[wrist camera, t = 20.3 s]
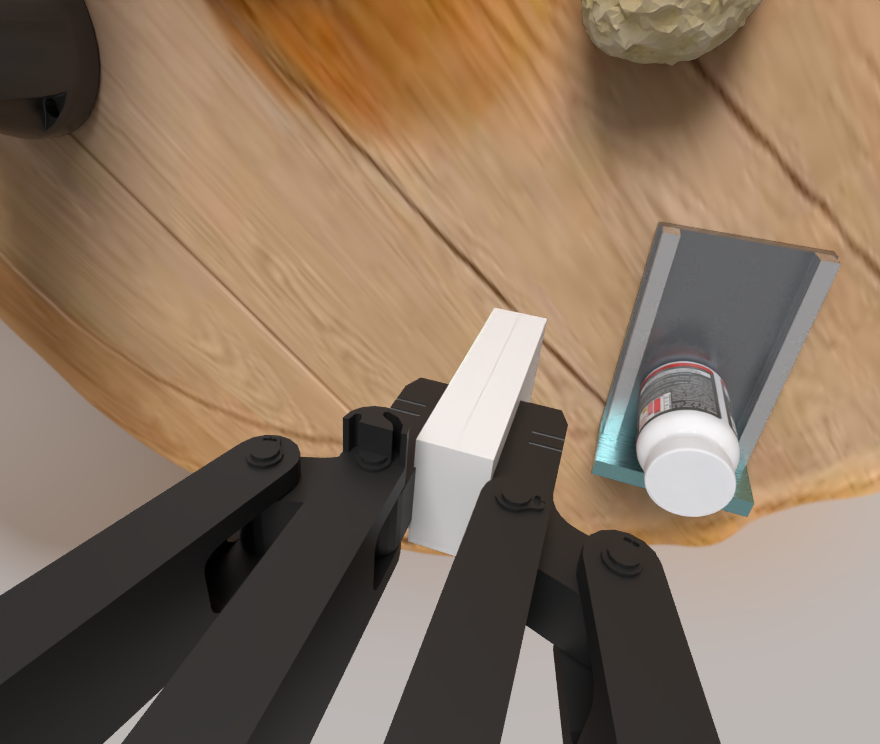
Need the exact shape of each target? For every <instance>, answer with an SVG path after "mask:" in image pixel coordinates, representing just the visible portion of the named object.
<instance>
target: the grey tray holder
mask: <svg viewBox="0 0 880 744" xmlns="http://www.w3.org/2000/svg"><path fill="white" fill-rule="evenodd" d="M837 259H838V255H837V254H836V253H835V252H833V251H827V250H822V249H816V248H810V247H804V246H798V245H792V244H787V243H781V242H775V241H769V240H763V239H757V238H752V237H746V236H740V235H734V234H728V233H722V232H717V231H711V230H705V229H699V228H693V227H688V226H682V225H676V224H670V223H664V222H658V226H657V229H656V233H655V236H654V239H653V243H652V246H651V250H650V253H649V257H648V260H647V264H646V267H645V270H644V274H643V277H642V281H641V284H640V288H639V291H638V295H637V298H636V301H635V305H634V308H633V312H632V315H631V319H630V322H629V326H628V329H627V332H626V336H625V339H624V343H623V346H622V350H621V353H620V356H619V360H618V363H617V367H616V370H615V374H614V377H613V381H612V384H611V387H610V391H609V394H608V398H607V401H606V405H605V408H604V412H603V415H602V418H601V422H600V425H599V431H598V437H597V443H596V449H595V455H594V461H593V467H592V473H591V474H595V475H599V476H602V477H606V478H609V479H613V480H616V481H620V482H624V483H627V484H631V485H634V486H638V487H641V488H645V489H646V487H645V482H644V471H643V469H642V468H641V466H640V463H639V461H638V458H637V451H636V440H637V439H636V438H637V421H638V398H639V391H640V388H641V385H642V383H643V381H644V380H645V378H646V377H647V376H648V375H649V374H650V373H651V372H652V371H654V370H655V369H657V368H658V367H660V366H662V365H665V364H668V363H672V362H677V361H689V362H695V363H699V364H702V365H704V366H706V367H708V368H710V369H712V370H713V371H714V372H716V373H717V374H718V375H719V376H720V378H721V379H722V380H723V382H724V383H725V385H726V388H727V390H728V394H729V399H730V404H731V408H732V413H733V418H734V422H735V427H736V432H737V436H738V441H739V448H740V458H739V463H738V466H737V468H736V470H735V477H736V490H735V493H734V496H733V498H732V499H731V501H730V502H729V503H728V504H727V505H726V506H725V507H724V508H722V509H721V510H724V511H727V512H731V513H734V514H738V515H742V516H745V517H748V515H749V513H750V511H751V509H752V507H753V505H754V500H753V495H752V490H751V486H750V481H749V476H748V472H747V467H746V464H747V461H748V459H749V457H750V455H751V453H752V451H753V449H754V447H755V445H756V442H757V440H758V438H759V436H760V434H761V432H762V430H763V428H764V426H765V423H766V421H767V419H768V417H769V415H770V413H771V411H772V409H773V407H774V404H775V402H776V400H777V398H778V396H779V394H780V392H781V390H782V388H783V385H784V383H785V381H786V379H787V377H788V375H789V373H790V371H791V369H792V367H793V364H794V362H795V360H796V358H797V356H798V354H799V352H800V350H801V348H802V345H803V343H804V341H805V339H806V337H807V335H808V333H809V331H810V329H811V326H812V324H813V322H814V320H815V318H816V316H817V314H818V312H819V310H820V307H821V305H822V303H823V301H824V299H825V297H826V295H827V293H828V291H829V288H830V286H831V284H832V282H833V280H834V278H835V276H836V274H837V272H838V269H839V267H840V265H841V263H840V262H839V261H838V260H837Z"/></svg>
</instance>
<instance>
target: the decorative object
mask: <svg viewBox="0 0 880 744" xmlns="http://www.w3.org/2000/svg"><path fill="white" fill-rule="evenodd" d="M581 1H582V4H583V10H582V17H583V25H584V26H585V27H586V28H587V32H586V33H587V34H588V35H589V36H590V39H591V41H592V42H593V43H594V44H595V45H596V46H597V47H598V48H599V49H600V50H602V51H603V52H604V53H606V55H610V56H613V57H618V58H621V59H627V60H629V61H631V62H635V63H640V64H649V63H660V64H663V63H666V64H668V65H671V66H672V65H674V64H676V63H677V62H678V61H690V60H694V59H697V58H698V57H700V56H702V55H703V54H704V53H708V52H710V51H711V50H712V49H714V48H716V47H717V46H719V45H720V44H722V43H723V42H724V41H726V40H727V39H728V38H730V37H731V36H732V35H733V34H734V33H735V32H736V31H737V30H738V28H740V27H742V26H744V25H745V21H746V18H747V17H748V16H749V15H750V14H751V13H752V12H753V11H754V10H755V9H756V8H757V7H758V5H759V4H760V2H761V0H581Z"/></svg>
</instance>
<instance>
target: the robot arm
mask: <svg viewBox="0 0 880 744" xmlns="http://www.w3.org/2000/svg"><path fill="white" fill-rule="evenodd" d="M98 82H99V60H98V51H97V45H96V39H95V35H94V31H93V27H92V23H91V20H90V17H89V14H88V11H87V9H86V6H85V4H84V1H83V0H0V134H4V135H9V136H13V137H18V138H24V139H41V138H49V137H57V136H63V135H66V134H69V133H71V132H73V131H75V130H76V129H77V128H79V127H80V126H81V125H82V124H83V123H84V122H85V120H86V119H87V117H88V116H89V114H90V112H91V110H92V108H93V105H94V103H95V99H96V95H97V90H98ZM546 321H547V319H546V318H541V317H536V316H531V315H526V314H522V313H517V312H512V311H507V310H503V309H498V308H494V310H493V311H492V313H491V315H490V316H489V318H488V320H487V321H486V323H485V325H484V326H483V328H482V330H481V332H480V333H479V335H478V337H477V338H476V340H475V342H474V343H473V345H472V347H471V348H470V350H469V352H468V353H467V355H466V357H465V358H464V360H463V362H462V363H461V365H460V367H459V368H458V370H457V372H456V373H455V375H454V377H453V378H452V380H451V382H450V383H449V384H445V383H441V382H437V381H433V380H429V379H425V378H419V379H418V380H416V381H414V382H412V383H410V384H408V385H407V386H405V388H404V389H403V391H402V392H401V393H400V395H399V396H398V398H397V400H395V402H394V403H393V404H392V406H391V408H386V407H378V406H370V407H362V408H359V409H356V410H353V411H351V412H349V413H348V414H347V415H346V416H344V417H343V452H342V453H341V454H340V456H339V457H334V458H314V457H300V451H299V448H298V446H297V445H296V444H295V443H294V442H293V441H291V440H290V439H288V438H285V437H282V436H276V435H263V436H258V437H253V438H251V439H248V440H246V441H244V442H242V443H240V444H239V445H237V446H235V447H234V448H232V449H231V450H229V451H227V452H226V453H224V454H223V455H221V456H220V457H218V458H216V459H215V460H213V461H212V462H210V463H209V464H207V465H205V466H204V467H202V468H201V469H199V470H198V471H196V472H194V473H193V474H191V475H190V476H188V477H186V478H185V479H183V480H182V481H180V482H179V483H177V484H175V485H174V486H172V487H171V488H169V489H168V490H166V491H165V492H163V493H161V494H160V495H158V496H157V497H155V498H153V499H152V500H150V501H149V502H147V503H145V504H144V505H142V506H141V507H139V508H138V509H136V510H134V511H133V512H131V513H130V514H128V515H127V516H125V517H124V518H122V519H120V520H119V521H117V522H116V523H114V524H112V525H111V526H109V527H108V528H106V529H104V530H103V531H101V532H100V533H98V534H97V535H95V536H93V537H92V538H90V539H89V540H87V541H86V542H84V543H82V544H81V545H79V546H78V547H76V548H75V549H73V550H72V551H70V552H68V553H67V554H65V555H64V556H62V557H60V558H59V559H57V560H56V561H54V562H52V563H51V564H49V565H48V566H46V567H45V568H43V569H42V570H40V571H38V572H37V573H35V574H34V575H32V576H30V577H29V578H27V579H26V580H24V581H22V582H21V583H19V584H18V585H16V586H15V587H13V588H12V589H10V590H8V591H7V592H5V593H4V594H2V595H0V744H103V743H104V742H105V741H106V740H107V739H108V738H109V737H111V736H112V735H113V734H114V733H115V732H116V731H117V730H118V729H119V728H120V727H121V726H122V725H124V724H125V723H126V722H127V721H128V720H129V719H130V718H131V717H132V716H133V715H134V714H135V713H137V712H138V711H139V710H140V709H141V708H142V707H143V706H144V705H145V704H146V703H147V702H148V701H149V700H151V699H152V698H153V697H154V696H155V695H156V694H157V693H158V692H159V691H160V690H161V689H162V688H163V687H164V688H163V690H162V691H161V692H160V693H159V695H158V696H157V698H156V699H155V700H154V701H153V703H152V704H151V705H150V707H149V708H148V709H147V711H146V712H145V713H144V715H143V716H142V717H141V718H140V720H139V721H138V722H137V724H136V725H135V726H134V728H133V729H132V730H131V732H130V733H129V734H128V736H127V737H126V738H125V740H124V741H123V742H122V744H310V742H311V740H312V738H313V736H314V734H315V732H316V730H317V728H318V725H319V723H320V721H321V719H322V717H323V715H324V713H325V711H326V709H327V707H328V705H329V703H330V701H331V699H332V696H333V695H334V693H335V690H336V688H337V686H338V684H339V682H340V680H341V678H342V676H343V674H344V672H345V670H346V667H347V666H348V663H349V662H350V660H351V657H352V655H353V653H354V651H355V649H356V647H357V645H358V643H359V641H360V639H361V637H362V635H363V632H364V631H365V629H366V626H367V625H368V623H369V620H370V618H371V616H372V614H373V612H374V610H375V608H376V606H377V604H378V602H379V600H380V598H381V596H382V593H383V592H384V590H385V587H386V585H387V583H388V581H389V579H390V577H391V575H392V573H393V571H394V569H395V567H396V565H397V562H398V560H399V556H400V550H401V540H402V538H403V536H404V534H405V532H406V530H407V528H408V526H409V533H408V541H409V542H412V543H415V544H419V545H422V546H425V547H428V548H431V549H434V550H438V551H441V552H444V553H447V554H450V555H454V556H456V557H455V559H454V562H453V564H452V567H451V570H450V572H449V575H448V578H447V580H446V583H445V585H444V588H443V590H442V593H441V596H440V598H439V601H438V603H437V606H436V609H435V611H434V614H433V616H432V619H431V622H430V624H429V627H428V629H427V632H426V635H425V637H424V640H423V642H422V645H421V648H420V650H419V653H418V656H417V658H416V661H415V663H414V666H413V668H412V671H411V674H410V676H409V679H408V681H407V684H406V687H405V689H404V692H403V694H402V697H401V700H400V702H399V705H398V708H397V710H396V713H395V715H394V718H393V720H392V723H391V726H390V728H389V731H388V733H387V736H386V739H385V741H384V744H500V741H501V736H502V732H503V728H504V723H505V718H506V714H507V709H508V705H509V700H510V695H511V691H512V686H513V681H514V677H515V672H516V667H517V663H518V658H519V654H520V649H521V644H522V640H523V635H524V630H525V626H528V627H529V628H531V629H532V630H534V631H535V632H537V633H538V634H540V635H541V636H542V637H544V638H545V639H547V640H548V641H550V642H551V643H553V644H554V646H553V652H554V662H555V671H556V681H557V690H558V700H559V709H560V719H561V728H562V738H563V744H721V743H720V740H719V737H718V734H717V731H716V728H715V725H714V722H713V719H712V716H711V713H710V710H709V707H708V704H707V701H706V698H705V694H704V692H703V688H702V685H701V682H700V679H699V676H698V673H697V670H696V667H695V664H694V661H693V658H692V655H691V652H690V649H689V646H688V643H687V640H686V637H685V634H684V631H683V628H682V625H681V622H680V618H679V616H678V612H677V609H676V606H675V603H674V600H673V597H672V594H671V591H670V588H669V585H668V582H667V579H666V576H665V573H664V570H663V567H662V564H661V562H660V560H659V558H658V557H657V555H656V553H655V552H654V551H653V550H652V549H651V548H650V547H649V546H648V545H647V544H646V543H645V542H644V541H642V540H640V539H638V538H637V537H635V536H633V535H631V534H629V533H625V532H621V531H617V530H601V531H598V532H596V533H594V534H591V535H590V536H588V535H586V534H584V533H583V532H581V531H579V530H577V529H576V528H574V527H573V526H572V525H570V524H569V523H567V522H566V521H565V520H564V519H563V518H562V517H561V516H560V514H559V513H558V511H557V509H556V508H555V505H554V502H553V492H554V487H555V482H556V478H557V473H558V468H559V464H560V459H561V454H562V450H563V445H564V440H565V436H566V431H567V426H568V424H567V422H566V419H565V417H564V415H563V412H562V410H558V409H554V408H549V407H545V406H541V405H537V404H533V403H530V399H531V395H532V390H533V385H534V380H535V375H536V370H537V365H538V360H539V355H540V350H541V345H542V341H543V336H544V331H545V326H546Z"/></svg>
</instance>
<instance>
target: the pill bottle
mask: <svg viewBox="0 0 880 744" xmlns="http://www.w3.org/2000/svg"><path fill="white" fill-rule="evenodd" d="M636 439H637V440H636V451H637V458H638V461H639V463H640V466H641V468H642V469H643V471H644V482H645V487H646V490H647V492H648V494H649V496H650V497H651V499H652V500H653V501H654V502H655V503H656V504H657V505H658V506H660V507H661V508H663V509H665V510H666V511H668V512H671V513H673V514H677V515H680V516H686V517H701V516H706V515H710V514H713V513H715V512H717V511H719V510H721V509H722V508H724V507H725V506H726V505H727V504H728V503H729V502H730V501H731V499H732V498H733V496H734V493H735V490H736V477H735V470H736V468H737V466H738V463H739V458H740V448H739V441H738V436H737V432H736V427H735V422H734V418H733V413H732V408H731V404H730V399H729V394H728V390H727V388H726V385H725V383H724V382H723V380H722V379H721V378H720V376H719V375H718V374H717V373H716V372H714V371H713V370H712V369H710V368H708V367H706V366H704V365H702V364H699V363H695V362H689V361H677V362H672V363H668V364H665V365H662V366H660V367H658V368H657V369H655V370H654V371H652V372H651V373H650V374H649V375H648V376H647V377H646V378H645V380H644V381H643V383H642V385H641V388H640V391H639V398H638V421H637V438H636Z"/></svg>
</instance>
